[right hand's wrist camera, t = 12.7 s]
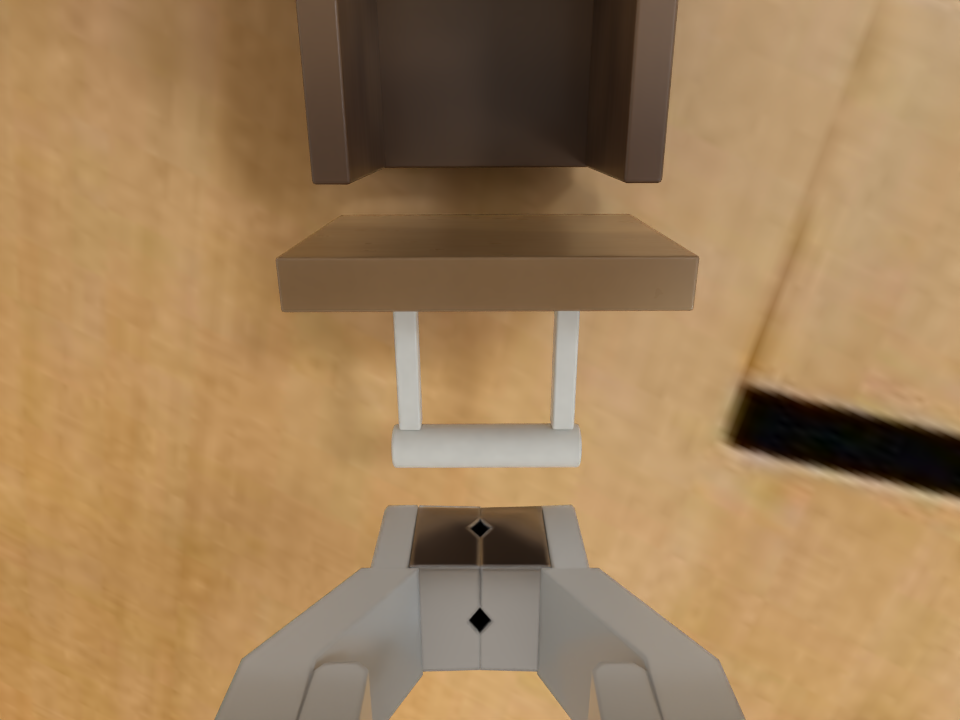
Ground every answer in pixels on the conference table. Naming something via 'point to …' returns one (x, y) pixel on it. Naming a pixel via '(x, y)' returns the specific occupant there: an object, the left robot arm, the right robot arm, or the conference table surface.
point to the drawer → (486, 143)
